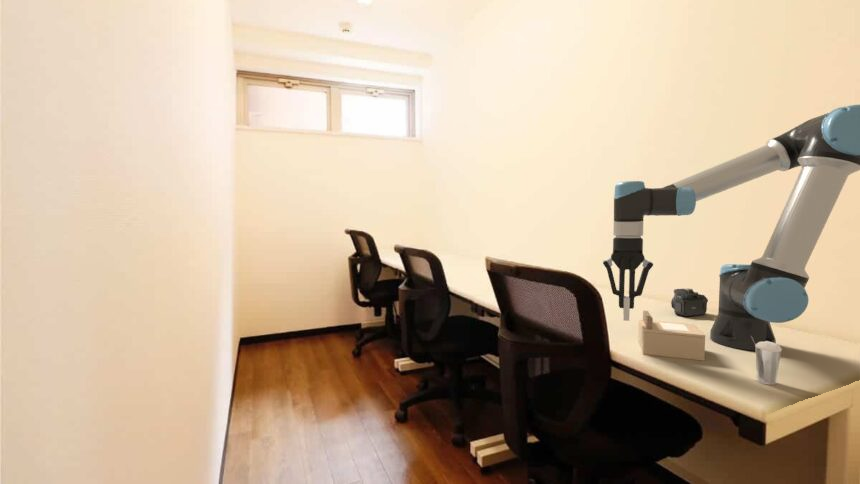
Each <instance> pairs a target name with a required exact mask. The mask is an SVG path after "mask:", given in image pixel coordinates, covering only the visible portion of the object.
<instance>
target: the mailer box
mask: <svg viewBox="0 0 860 484" xmlns="http://www.w3.org/2000/svg"><path fill="white" fill-rule="evenodd" d="M637 340H638V344H639V347H640V350H641V352H642V354H643V355H648V356H659V357H668V358H676V359H686V360H695V361H697V360H698V361H705V350H706V336H705V337H695V336H684V335H673V334H662V333H650V332H644V331H643V329H642V327H641V325H640V323H639V322H638V339H637Z"/></svg>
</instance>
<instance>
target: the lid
mask: <svg viewBox="0 0 860 484" xmlns="http://www.w3.org/2000/svg"><path fill="white" fill-rule="evenodd" d="M639 323H640V325H641V327H642V329H643V331H644V332H650V333H662V334H673V335H684V336H695V337H705V338H706V334H705V333H704V332H703V331H702V330H701V329H700V328H699V327H698V326H697V325H696V324H695V323H685V322H684V323H683V322H675V321H674V322H673V321H672V322H671V321H660V320H653V316H652V315H651V314H650V312H649V310H643V311H642V319H638V324H639Z"/></svg>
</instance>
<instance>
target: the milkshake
mask: <svg viewBox="0 0 860 484" xmlns="http://www.w3.org/2000/svg"><path fill="white" fill-rule="evenodd" d="M751 337H752V336H751ZM752 339H753V338H752ZM753 341H754V340H753ZM754 344H755V343H754ZM755 349H756V351H755V362H756V366H755V367H756V381H758V382H759V383H760V384H763V385H769V386H775V385H777V380H778V374H779V367H780V362H781V361H780V360H781V356H782V351H783V348H782V347H781V346H780V345H779V344H777V343H776V344H775V343H773V342H769V341H765V342H758V343H757V344H756V345H755Z"/></svg>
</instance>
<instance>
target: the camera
mask: <svg viewBox="0 0 860 484" xmlns="http://www.w3.org/2000/svg"><path fill="white" fill-rule="evenodd" d="M673 294H674V295H673V297H672V299H671V300H670V301H671V302H670V305H671V308H672V309H673V310H674V314H675V315H677V316H679V317H680V316H681V317H692V316H693V317H694V316H703V315H706V313H707V310H708V307H707V306H708V303H709V299H708V298H707V297H706V296H705V295H704V294H700V293H699V292H697V291H694V290H693V288H675V289H673Z"/></svg>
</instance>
